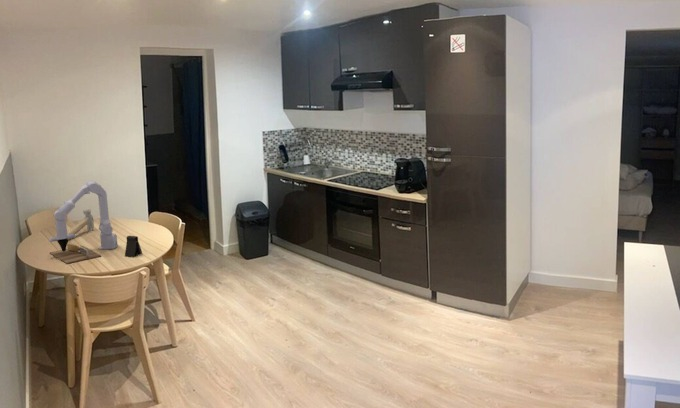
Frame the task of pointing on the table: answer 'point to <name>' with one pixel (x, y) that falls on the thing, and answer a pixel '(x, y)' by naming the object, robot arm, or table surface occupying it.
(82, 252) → the strip
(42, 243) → the table surface
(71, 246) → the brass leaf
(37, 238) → the table surface
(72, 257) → the walnut board
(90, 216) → the hammer
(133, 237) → the phone stand
